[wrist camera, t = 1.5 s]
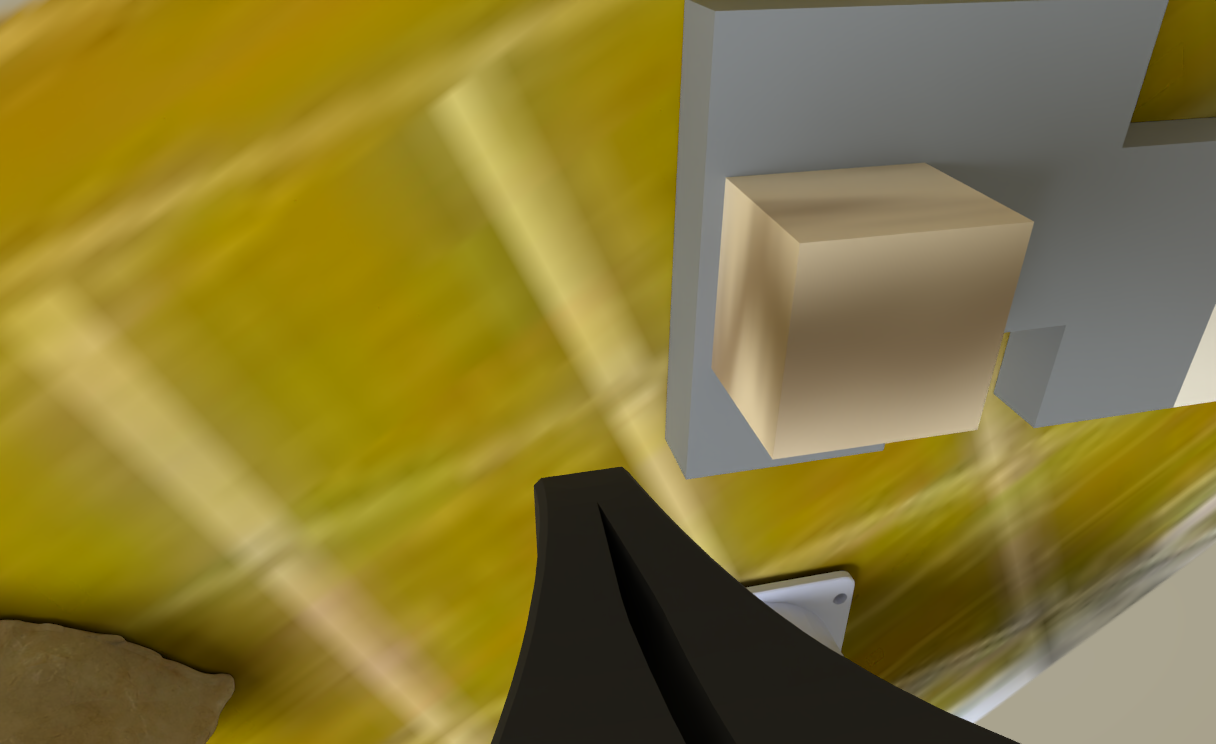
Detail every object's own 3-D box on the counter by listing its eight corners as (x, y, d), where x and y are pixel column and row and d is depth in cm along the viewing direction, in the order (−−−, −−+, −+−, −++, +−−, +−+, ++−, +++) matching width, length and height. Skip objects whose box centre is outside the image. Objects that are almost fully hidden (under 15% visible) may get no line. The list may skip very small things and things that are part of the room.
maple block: (888, 346, 23) (977, 429, 19) (711, 368, 22) (772, 459, 18) (924, 162, 20) (1034, 221, 17) (725, 177, 19) (799, 243, 16)
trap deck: (1296, 351, 30) (1430, 422, 26) (665, 438, 25) (716, 539, 21) (1477, -26, 24) (1687, -5, 20) (685, -2, 19) (761, 31, 15)
